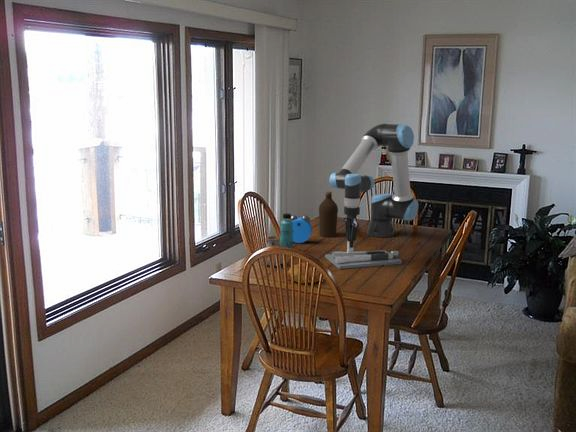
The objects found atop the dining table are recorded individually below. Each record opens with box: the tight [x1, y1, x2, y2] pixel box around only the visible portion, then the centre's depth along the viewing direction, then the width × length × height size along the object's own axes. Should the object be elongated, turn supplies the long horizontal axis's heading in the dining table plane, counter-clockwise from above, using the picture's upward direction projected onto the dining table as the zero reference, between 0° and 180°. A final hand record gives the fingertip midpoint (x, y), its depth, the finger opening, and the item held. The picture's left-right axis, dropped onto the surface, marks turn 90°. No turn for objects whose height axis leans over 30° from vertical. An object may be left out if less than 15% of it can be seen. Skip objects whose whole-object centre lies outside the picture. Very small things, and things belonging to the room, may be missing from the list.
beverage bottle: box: [279, 212, 294, 249], centre depth 310 cm, size 6×7×20 cm
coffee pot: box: [261, 235, 283, 267], centre depth 285 cm, size 21×12×15 cm, turn 0°
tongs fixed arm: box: [335, 249, 399, 263], centre depth 293 cm, size 33×5×3 cm, turn 106°
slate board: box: [324, 249, 403, 270], centre depth 298 cm, size 32×20×2 cm, turn 106°
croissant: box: [287, 262, 320, 285], centre depth 269 cm, size 14×16×8 cm
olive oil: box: [318, 190, 339, 238], centre depth 343 cm, size 11×11×25 cm
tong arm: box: [331, 250, 388, 258], centre depth 298 cm, size 26×3×2 cm, turn 95°
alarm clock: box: [288, 214, 313, 244], centre depth 330 cm, size 13×6×15 cm, turn 82°
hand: (350, 253), depth 299 cm, fingers closed
